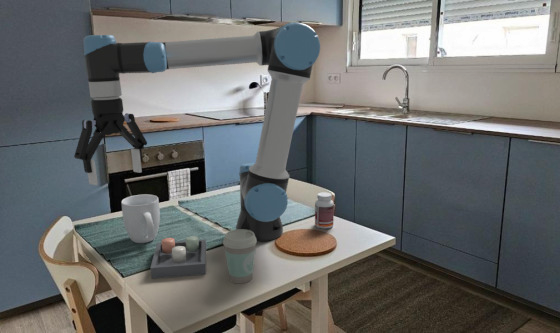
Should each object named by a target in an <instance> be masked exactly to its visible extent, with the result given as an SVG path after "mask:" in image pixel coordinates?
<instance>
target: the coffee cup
mask: <svg viewBox="0 0 560 333" xmlns="http://www.w3.org/2000/svg"><path fill="white" fill-rule="evenodd" d="M257 242H258V241H257V240H256V237H255V234H254V232H252V231H250V230H246V229H236V228H235V229H232V230H229V231H227V232H226V233H225V234H224V237H223V241H222V244H223V246H224V250H225V257H226V262H227V263H226V264H227V269H228V275H229V280H230V281H231V282H232V283H235V284H245V283H248V282H250V281H251V280H252V279H253V272H254V265H255V264H254V262H255V254H256V253H255V252H256V244H257Z"/></svg>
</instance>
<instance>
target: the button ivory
mask: <svg viewBox="0 0 560 333" xmlns="http://www.w3.org/2000/svg"><path fill="white" fill-rule="evenodd" d="M172 259H173V262H175V263H181V262H184V261H185V260H186V248H185V247H184V246H176V247H174V248H172Z"/></svg>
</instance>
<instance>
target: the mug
mask: <svg viewBox="0 0 560 333" xmlns="http://www.w3.org/2000/svg"><path fill="white" fill-rule="evenodd" d="M120 202H121V211H122V213H121V214H122V219H123V225H124V228H125V229H124V230H125V231H126V233H127V235H128V237H129V239H130V240H131V241H132V242H134V243H136V244H145V243H149V242H153V240H155V239H156V236H157V234H158V233H159V227H160V222H161V217H160V216H161V213H160V212H161V210H160V209H161V208H160V201H159V197H158V196H157V195H154V194H147V193H145V194H137V195H130V196H127V197H125V198H123V199H122V200H121V201H120Z"/></svg>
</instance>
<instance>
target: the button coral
mask: <svg viewBox="0 0 560 333" xmlns="http://www.w3.org/2000/svg"><path fill="white" fill-rule="evenodd" d="M175 241H176V240H175V238H173V237H165V238H163V239H161V241H160V242H162V252H163V253H165V254H170V253H172V248H174V247H175Z"/></svg>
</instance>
